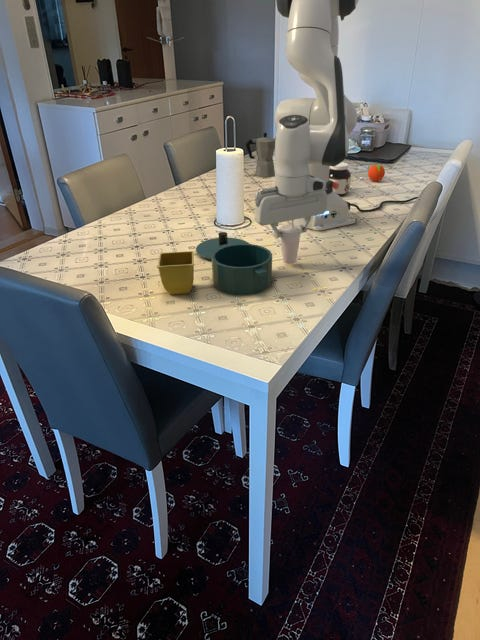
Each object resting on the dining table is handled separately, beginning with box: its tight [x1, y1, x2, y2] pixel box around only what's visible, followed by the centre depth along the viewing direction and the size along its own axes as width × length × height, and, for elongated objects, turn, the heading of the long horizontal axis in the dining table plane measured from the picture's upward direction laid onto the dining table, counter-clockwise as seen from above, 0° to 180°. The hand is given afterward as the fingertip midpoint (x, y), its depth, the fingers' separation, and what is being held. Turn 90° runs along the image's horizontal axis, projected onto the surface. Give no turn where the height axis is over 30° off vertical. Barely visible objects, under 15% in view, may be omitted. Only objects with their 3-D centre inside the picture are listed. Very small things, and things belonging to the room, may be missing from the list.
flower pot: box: [157, 250, 195, 295], centre depth 125 cm, size 9×9×9 cm
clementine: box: [367, 164, 386, 182], centre depth 207 cm, size 8×7×7 cm
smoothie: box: [278, 220, 303, 265], centre depth 134 cm, size 6×6×14 cm
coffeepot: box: [245, 132, 275, 178], centre depth 218 cm, size 15×9×18 cm, turn 103°
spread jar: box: [329, 161, 352, 198], centre depth 193 cm, size 12×11×12 cm
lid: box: [195, 231, 250, 261], centre depth 147 cm, size 17×17×6 cm
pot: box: [211, 243, 273, 296], centre depth 129 cm, size 16×21×8 cm
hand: (290, 234), depth 134 cm, fingers closed on smoothie, 6 cm apart
